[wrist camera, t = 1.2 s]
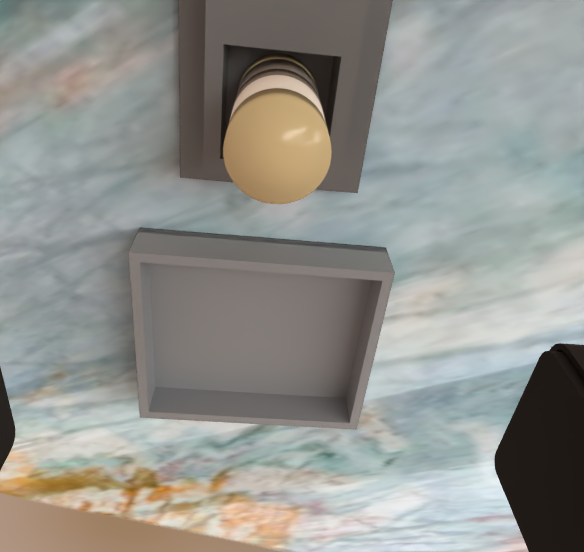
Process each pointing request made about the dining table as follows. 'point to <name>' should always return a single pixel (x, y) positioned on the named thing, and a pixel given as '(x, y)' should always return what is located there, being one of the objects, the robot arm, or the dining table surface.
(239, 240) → the tray
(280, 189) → the fuse
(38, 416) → the dining table surface
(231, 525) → the dining table surface
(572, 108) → the dining table surface
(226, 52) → the fuse block
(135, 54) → the dining table surface
